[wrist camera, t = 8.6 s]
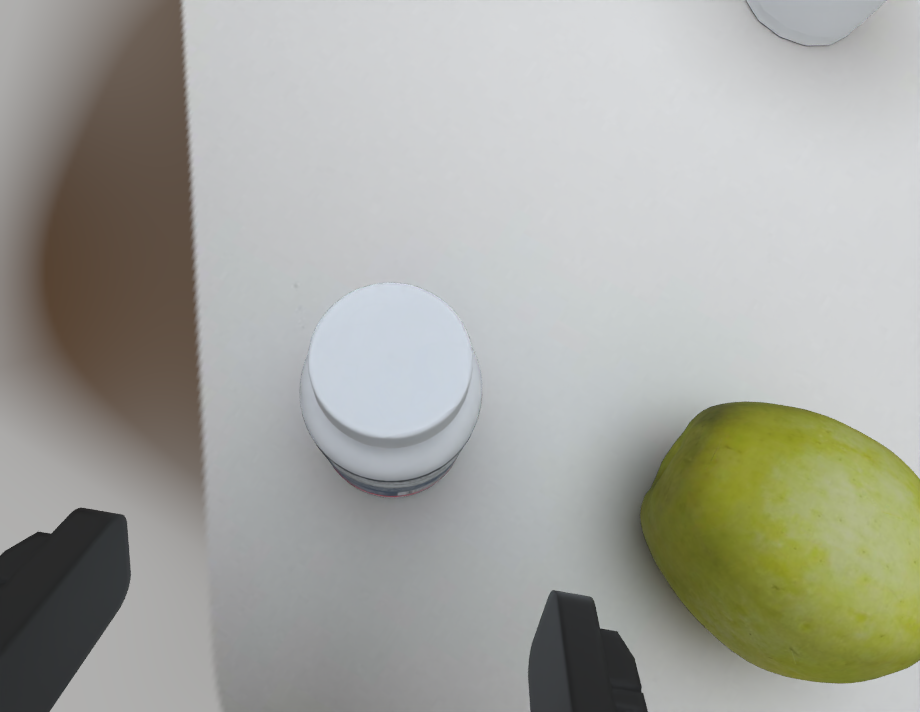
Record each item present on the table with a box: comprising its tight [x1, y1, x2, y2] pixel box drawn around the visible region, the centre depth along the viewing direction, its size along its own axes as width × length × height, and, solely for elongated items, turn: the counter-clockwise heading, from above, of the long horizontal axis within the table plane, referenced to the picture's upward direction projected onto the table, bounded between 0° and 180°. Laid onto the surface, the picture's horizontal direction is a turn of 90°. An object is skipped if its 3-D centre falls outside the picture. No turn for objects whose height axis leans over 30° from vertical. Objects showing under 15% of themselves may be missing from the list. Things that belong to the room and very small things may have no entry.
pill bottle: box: [300, 283, 482, 498], centre depth 18 cm, size 5×5×9 cm
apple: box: [640, 402, 920, 683], centre depth 19 cm, size 8×9×8 cm
